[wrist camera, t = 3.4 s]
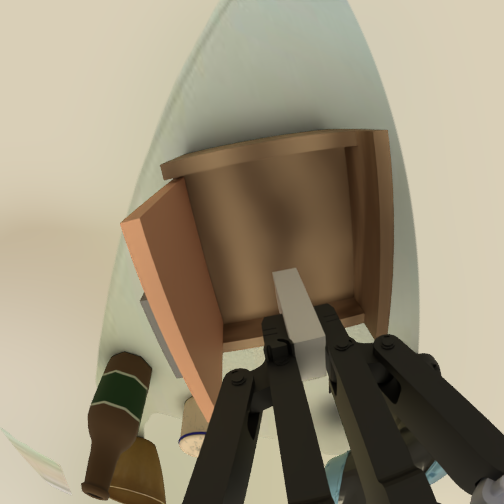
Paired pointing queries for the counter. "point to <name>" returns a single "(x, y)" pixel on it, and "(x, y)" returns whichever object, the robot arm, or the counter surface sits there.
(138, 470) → the plant pot
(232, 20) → the counter surface
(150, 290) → the orange rectangular slab
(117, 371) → the beer bottle
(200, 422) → the teacup with lid
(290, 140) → the tray
